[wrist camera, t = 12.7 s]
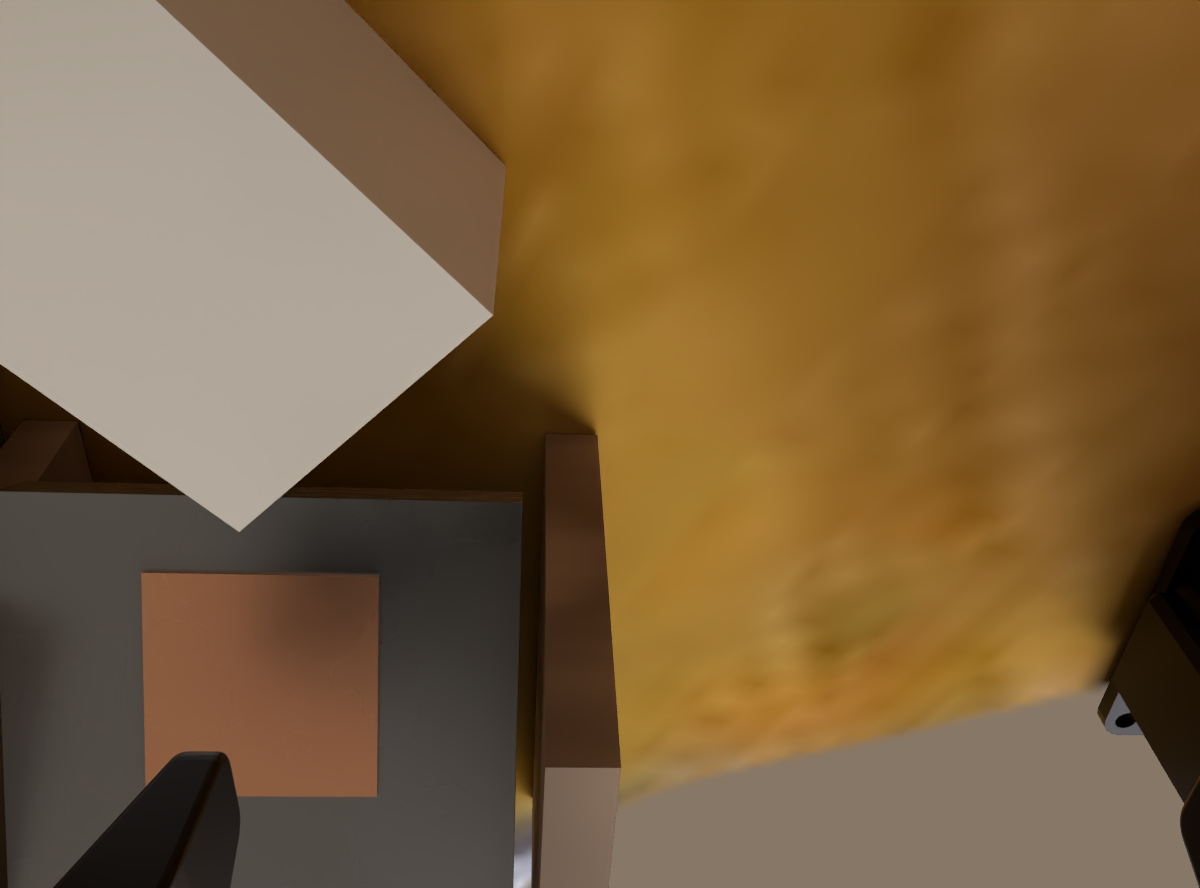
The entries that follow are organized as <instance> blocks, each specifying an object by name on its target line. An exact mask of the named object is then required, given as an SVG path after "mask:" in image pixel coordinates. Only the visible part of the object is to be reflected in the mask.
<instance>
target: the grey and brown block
mask: <svg viewBox="0 0 1200 888" xmlns="http://www.w3.org/2000/svg"><path fill="white" fill-rule="evenodd" d="M522 511H523V492H509V491H465V490H420V489H375V488H331V487H291V488H290V489H289V490H288V491H287V492H286V493H284V494H283V495H282V496H281V497H280V498H278V499H277V500H276V501H275V502H274V503H273V504H271V505H270V506H269V507H268V508H267V509H266V510H264V511H263V512H262V513H261V514H260V515H259V516H257V517H256V518H255V519H254V520H253V521H252V522H250V523H249V524H248V525H247V526H246V527H244V528H243V529H242V530H241V531H240V532H238V531H237V530H236V529H234V528H233V527H231V526H230V525H228V524H227V523H226V522H224V521H223V520H221V519H220V518H219V517H217V516H216V515H214V514H213V513H211V512H210V511H209V510H207V509H206V508H204V507H203V506H201V505H200V504H199V503H197V502H196V501H194V500H193V499H192V498H190V497H189V496H187V495H186V494H184V493H183V492H182V491H180V490H179V489H177V488H176V487H174V486H173V485H172V484H152V483H107V482H62V481H21V482H19V483H16V484H13V485H10V486H7V487H4V488H1V489H0V691H1V717H2V744H3V770H4V796H5V823H6V849H7V876H8V888H53V887H54V886H55V885H56V884H57V883H58V882H59V880H60V879H61V878H62V877H63V876H64V875H65V874H66V873H67V872H68V871H69V870H70V869H71V867H72V866H73V865H74V864H75V863H76V862H77V861H78V860H79V859H80V858H81V857H82V855H83V854H84V853H85V852H86V851H87V850H88V849H89V848H90V847H91V846H92V845H93V843H94V842H95V841H96V840H97V839H98V838H99V837H100V836H101V835H102V834H103V833H104V832H105V830H106V829H107V828H108V827H109V826H110V825H111V824H112V823H113V822H114V821H115V820H116V818H117V817H118V816H119V815H120V814H121V813H122V812H123V811H124V810H125V809H126V808H127V806H128V805H129V804H130V803H131V802H132V801H133V800H134V799H135V798H136V797H137V796H138V795H139V793H140V792H141V791H142V790H143V789H144V788H145V787H146V786H147V785H148V784H149V783H150V781H151V780H152V779H153V778H154V777H155V776H156V775H157V774H158V773H159V772H160V771H161V769H162V768H163V767H164V766H165V765H166V764H167V763H168V762H169V761H170V760H171V759H172V758H173V757H174V756H176V755H177V754H179V753H181V752H186V751H219V752H223V753H225V754H226V755H227V757H228V758H229V760H230V764H231V769H232V774H233V778H234V783H235V788H236V793H237V798H238V803H239V808H240V834H239V841H238V847H237V852H236V858H235V864H234V869H233V875H232V881H231V887H230V888H513V872H514V832H515V791H516V751H517V711H518V671H519V631H520V591H521V551H522Z"/></svg>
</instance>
